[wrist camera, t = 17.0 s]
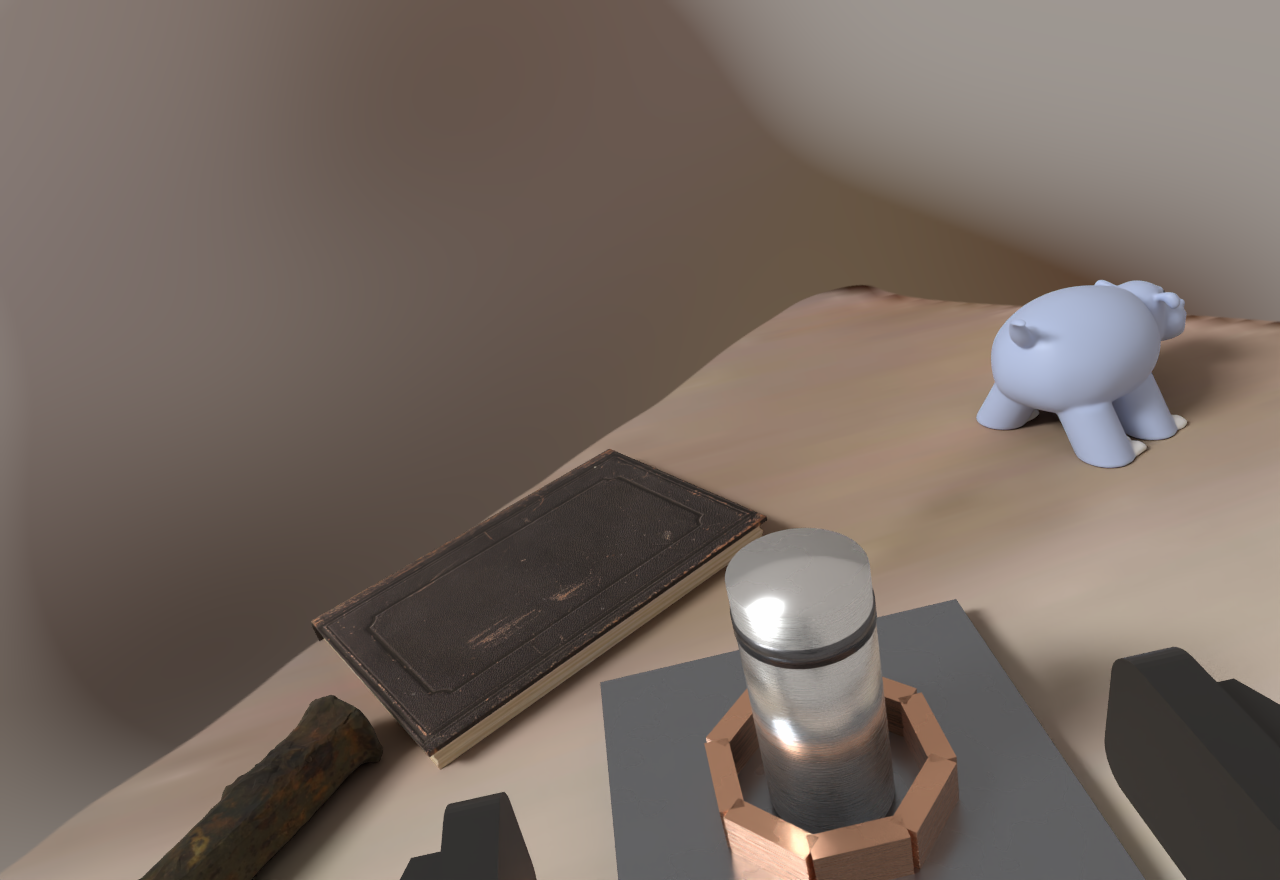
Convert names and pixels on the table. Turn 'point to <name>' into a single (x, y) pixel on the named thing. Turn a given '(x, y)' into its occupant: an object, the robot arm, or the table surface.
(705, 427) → the table surface
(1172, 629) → the table surface
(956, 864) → the grey square base plate
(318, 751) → the hand tool
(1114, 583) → the table surface
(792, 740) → the steel piston
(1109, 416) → the hippopotamus toy
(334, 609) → the hardcover book
